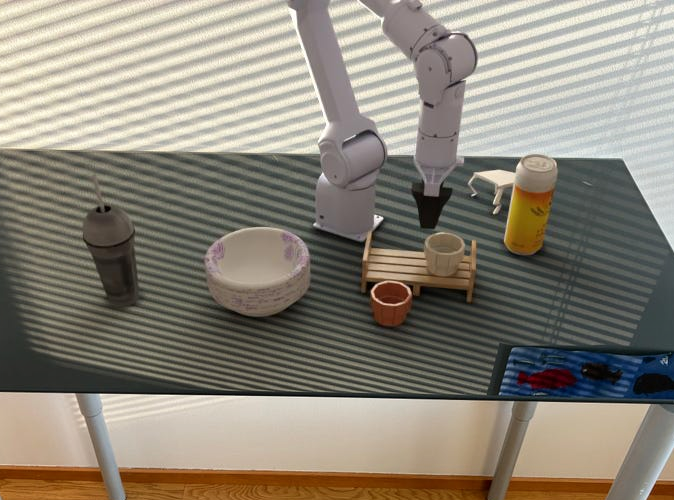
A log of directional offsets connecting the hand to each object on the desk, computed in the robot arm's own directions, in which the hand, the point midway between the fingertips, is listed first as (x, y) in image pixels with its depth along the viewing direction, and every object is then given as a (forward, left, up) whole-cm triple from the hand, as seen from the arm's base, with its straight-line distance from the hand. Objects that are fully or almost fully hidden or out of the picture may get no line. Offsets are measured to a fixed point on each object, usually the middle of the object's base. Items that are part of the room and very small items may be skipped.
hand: (429, 213), depth 114 cm
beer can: (+12, +12, -10) cm, 20 cm away
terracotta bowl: (+1, -14, -10) cm, 17 cm away
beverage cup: (-36, -30, -10) cm, 48 cm away
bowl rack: (+1, -5, -10) cm, 11 cm away
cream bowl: (+4, -3, -7) cm, 8 cm away
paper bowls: (-18, -20, -10) cm, 28 cm away
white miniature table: (+5, +23, -10) cm, 26 cm away
